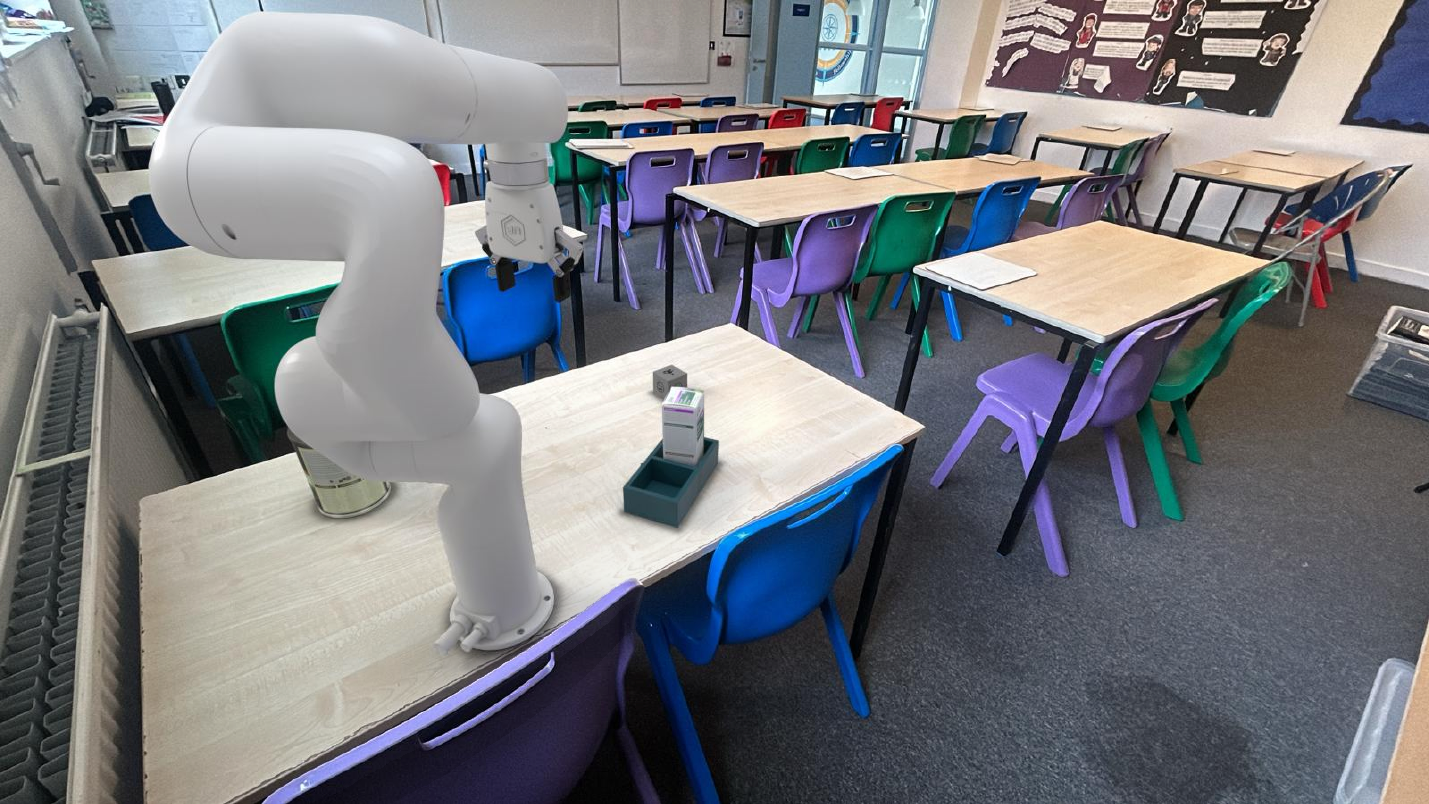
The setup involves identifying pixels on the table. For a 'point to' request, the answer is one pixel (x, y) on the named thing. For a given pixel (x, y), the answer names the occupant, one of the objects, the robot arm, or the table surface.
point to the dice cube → (668, 380)
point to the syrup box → (683, 425)
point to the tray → (668, 485)
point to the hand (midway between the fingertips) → (534, 293)
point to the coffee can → (337, 484)
